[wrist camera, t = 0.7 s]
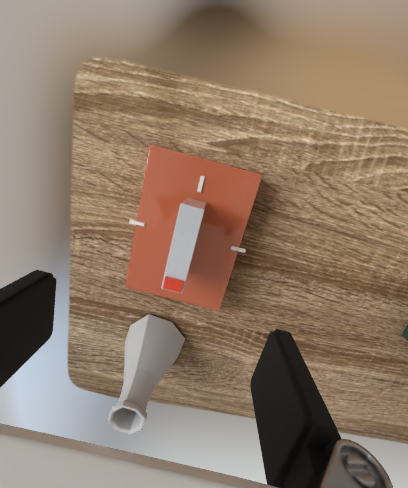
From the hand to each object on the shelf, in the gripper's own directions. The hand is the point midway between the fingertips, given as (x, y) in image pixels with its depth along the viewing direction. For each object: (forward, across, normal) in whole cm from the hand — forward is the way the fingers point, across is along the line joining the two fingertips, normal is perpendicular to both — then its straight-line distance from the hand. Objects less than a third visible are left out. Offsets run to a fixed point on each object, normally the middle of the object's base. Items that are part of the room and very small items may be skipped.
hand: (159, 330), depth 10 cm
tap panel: (+16, 0, -1) cm, 16 cm away
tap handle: (+13, 0, -1) cm, 13 cm away
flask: (+16, +1, +14) cm, 22 cm away
